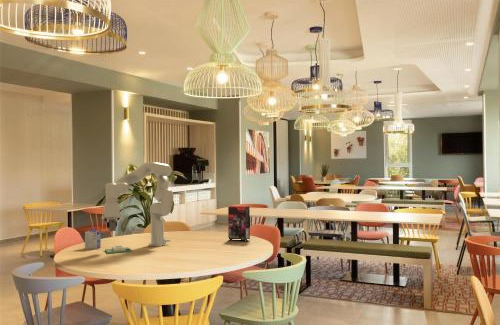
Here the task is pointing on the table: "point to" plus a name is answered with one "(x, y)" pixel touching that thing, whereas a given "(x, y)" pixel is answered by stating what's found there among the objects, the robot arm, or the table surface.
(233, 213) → the graphics card box
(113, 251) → the circuit board
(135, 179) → the robot arm
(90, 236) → the ink cartridge box
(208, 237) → the table surface
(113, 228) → the plug
